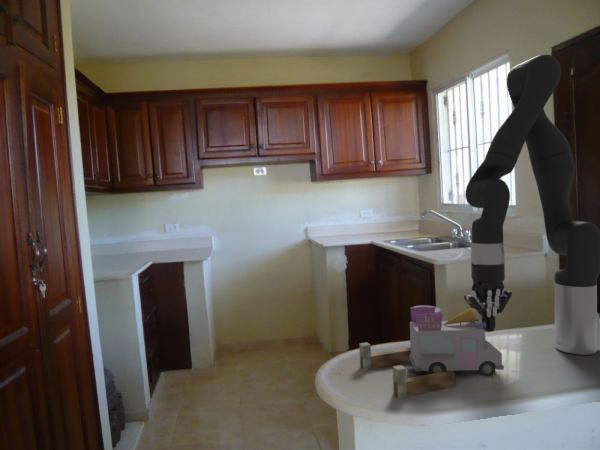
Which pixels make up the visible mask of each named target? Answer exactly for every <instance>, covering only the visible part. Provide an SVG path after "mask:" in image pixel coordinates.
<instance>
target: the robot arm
mask: <svg viewBox="0 0 600 450" xmlns="http://www.w3.org/2000/svg"><path fill="white" fill-rule="evenodd" d="M561 76H562V68H561V64H560V62H559V60H557V58H556V57H554V56H553V55H552V54H540V55H537V56H534V57H531V58H529V59H527V60H525V61H523V62H521V63H519V64H517V65H515V66H513V67H512V68H511V69H510V70H509V72H508V74H507V77H506V87H507V88H506V89H507V93H508V95H509V97H510V101H511V102H512V103H511V104H512V105H513V110H512V111H511V112H510V114H509V115H508V117H507V118H506V119H505V120H504V122H503V123H502V124H501V125H500V127H499V128H498V130H497V131H496V133H495V135H494V137H493V138H492V140H491V143H490V145H489V147H488V150H487V151H486V155H485V156H484V160H483V162H482V163H481V164H480V165H479V166H478V168H477V169H476V171H475V172H474V174H473V175H472V177H471V178H470V179H469V181H468V183H467V186H466V187H465V200H466V202H467V204H468V205H469V206H471V207H473V208H475V209H482V212H481V216H480V217H479V218H476V219H474V220H473V222H472V223H471V247H470V248H471V250H470V257H471V258H470V261H471V262H470V266H471V267H470V270H471V271H470V272H471V275H470V276H471V280H472V283H473V284H472V285H471V286H472V287H471V292H469V293H468V294H465V295H464V296H463V299H464V301H466V303H467V304H468V306H469V307H470V308H474V309H476V310H477V311H478V313H479V316H481V323H484V322H485V323H486V328H484V327H482V328H483V329H484V330H485V332H488V333H490V332H495V328H496V316H497V314H499V313H500V314H502V313H503V311H504V309H505V308H506V306H507V305H508V303H509V301H510V299H511V298H512V296H513V292H512V291H509V290H507V289H506V288H505V285H504V281H505V279H506V271H505V270H506V269H505V267H506V265H505V264H506V263H505V262H506V261H505V260H506V259H505V257H506V256H505V255H506V254H505V247H504V224H505V220H506V217H507V213H508V209H509V204H510V200H511V193H510V189H509V186H508V184H507V183H506V181H504V180H503V179H501V178H503V177H505V176H507V175H509V174H511V173H512V172H513V170H514V168H515V167H516V165H517V162H518V159H519V156H520V154H521V151H522V150H523V148H524V145H525V144H526V147H527V153H528V156H529V160H530V165H531V169H532V173H533V175H534V179H535V182H536V186H537V191H538V195H539V196H538V197H539V199H540V204H541V208H542V213H543V220H544V228H545V235H546V239H547V243H548V246H549V247H550V249H551V250H552V252H554V253H556V254H557V255H560V256H563V257H564V256H565V257H566V261H565V262H566V264H565V267H564V268H562V269H558V270H557V271H555V273H554V347H555V348H556V349H557V350H559V351H561V352H564V353H567V354H573V355H581V356H582V355H583V356H585V355H586V356H588V355H594V354H596V353H597V352H598V351H599V350H600V313H598V291H597V290H598V278H599V276H600V229H599V227H598V226H597V225H595V224H594V223H592V222H588V221H579V220H578V221H577V220H574V217H573V214H572V213H573V212H572V209H571V205H570V193H571V188H572V186H573V183H574V178H575V173H576V165H575V160H574V157H573V156H574V155H573V152H572V148H571V145H570V143H569V141H568V139H567V138H566V136H565V134H563V133H562V132H561V130H559V128H558V127H557V126H556V125H555V124H554V123H553V122H552V121H551V120H550V119H549V117H548V115H547V114H546V111H545V110H544V108H545V106H546V104H547V103H548V101H549V100H550V98H551V96H552V95H553V93H554V91H555V90H556V88H557V86H558V84H559V83H560V81H561Z"/></svg>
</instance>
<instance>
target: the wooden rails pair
mask: <svg viewBox="0 0 600 450" xmlns="http://www.w3.org/2000/svg"><path fill="white" fill-rule="evenodd" d="M371 350H372V347H371V344H370V343H368V342H367V341H366V342H361V343H359V367H360V369H362V370H363V371H367V370H372V369H377V368H382V367H389V366H392V383H393V396H395V397H396V398H398V399H401V398H407V397H409V396H413V395H418V394H425V393H429V392H434V391H437V390H438V391H439V390H443V389H448V388H452V387H453V388H454V387H456V377H455V376H456V373H455V371H451V370H449V371H447V370H445V371H444V372H438V373H433V374H430V373H429V374H428V375H427V374H424V375H418V376H413V377H408V378H407V368H406V366H403V365H402V364H405V363H411V361H410V359H409V355H411V348H410V347H406V348H400V349H393V350H387V351H383V352H376V353H375V352H374V353H371V352H372V351H371ZM400 364H401V365H400ZM393 365H394V366H393Z"/></svg>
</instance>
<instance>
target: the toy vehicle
mask: <svg viewBox="0 0 600 450" xmlns="http://www.w3.org/2000/svg"><path fill="white" fill-rule="evenodd" d="M413 307H414V306H411V307H409V309H410V317H411V316H412V322H411V321H409V337H410V339H409V343H410V344H409V345H410V347H409V348H411V355H409V359H410V361H411V362H410V363H411V364H412V366H413V368H414V371H415V372H422V371H423V372H425V375H428V374H433V373H438V372H444V371H449V370H451V371H452V372H455V371H478V372H479V374H480V375H481V376H483V377H486V378H489V377H492V376H493V375H494V374H495V372H496V370H498V371H500V370H501V371H502V370H503V371H504V369H505V367H504V365H503V354H502V352H501V351H499V350H498V349H497V347H495V346H494V345H493V344H491V343H490V342H489V341H488V340H487V339H486V334H485V333H486V331H485V330H484V329H483V328H482V327H484V328H486V323H485V322H484V323H482V322H481V323H477V322H478V321H479V316H480V314H479V313H478V311H477V310H476V309H474V308H471V307H470V308H467V309H465V310H463V311H462V312H461V313H459V314H457V315H455V316H453V317H452V318H451V319H448V320H443V317H444V316H443V313H441V314H435V307H436V306H434V307H415V308H413Z"/></svg>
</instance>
